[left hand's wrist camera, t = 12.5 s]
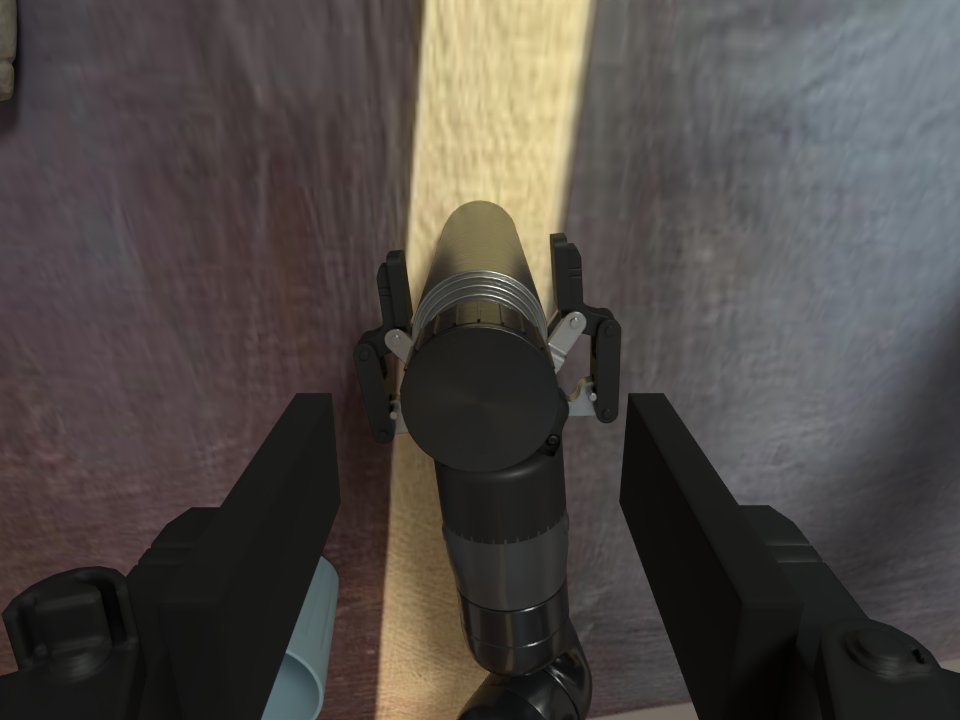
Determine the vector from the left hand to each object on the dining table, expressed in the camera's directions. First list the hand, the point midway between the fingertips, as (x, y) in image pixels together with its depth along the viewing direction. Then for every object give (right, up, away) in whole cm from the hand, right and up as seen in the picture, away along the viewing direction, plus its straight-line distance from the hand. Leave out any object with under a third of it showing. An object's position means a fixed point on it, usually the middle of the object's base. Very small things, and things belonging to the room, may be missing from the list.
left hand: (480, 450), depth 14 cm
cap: (0, +1, +3) cm, 3 cm away
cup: (-13, -14, +35) cm, 40 cm away
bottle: (0, +10, +26) cm, 28 cm away
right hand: (0, +8, +19) cm, 21 cm away
